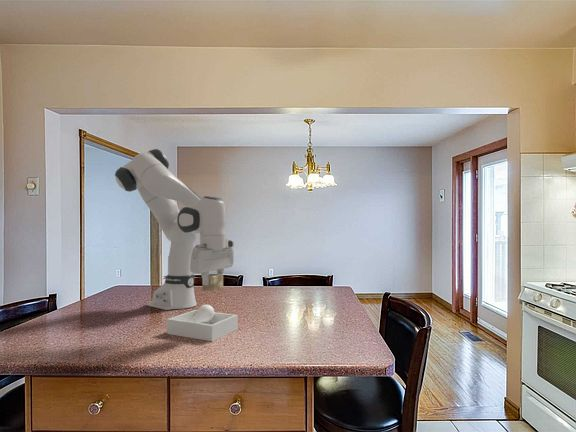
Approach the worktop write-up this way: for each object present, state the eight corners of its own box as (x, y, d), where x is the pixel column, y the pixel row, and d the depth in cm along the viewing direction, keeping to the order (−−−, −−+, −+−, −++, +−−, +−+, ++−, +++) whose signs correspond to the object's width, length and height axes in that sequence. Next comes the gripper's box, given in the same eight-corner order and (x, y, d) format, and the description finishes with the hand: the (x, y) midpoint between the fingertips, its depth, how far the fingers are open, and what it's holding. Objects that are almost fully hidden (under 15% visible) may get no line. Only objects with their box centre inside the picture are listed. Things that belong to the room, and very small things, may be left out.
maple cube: (214, 291, 127) (214, 276, 127) (202, 290, 129) (202, 275, 129) (223, 289, 132) (223, 274, 132) (211, 287, 134) (211, 273, 134)
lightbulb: (182, 325, 134) (205, 307, 142) (193, 336, 132) (216, 318, 139) (182, 315, 130) (207, 298, 138) (194, 327, 128) (218, 309, 135)
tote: (166, 333, 130) (166, 319, 130) (195, 322, 143) (195, 309, 143) (212, 341, 122) (212, 325, 122) (237, 329, 135) (237, 315, 135)
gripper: (201, 245, 120) (200, 289, 120) (236, 241, 138) (236, 279, 138) (185, 244, 123) (185, 287, 123) (222, 241, 141) (222, 278, 141)
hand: (212, 283), depth 131 cm, fingers closed on maple cube, 5 cm apart
